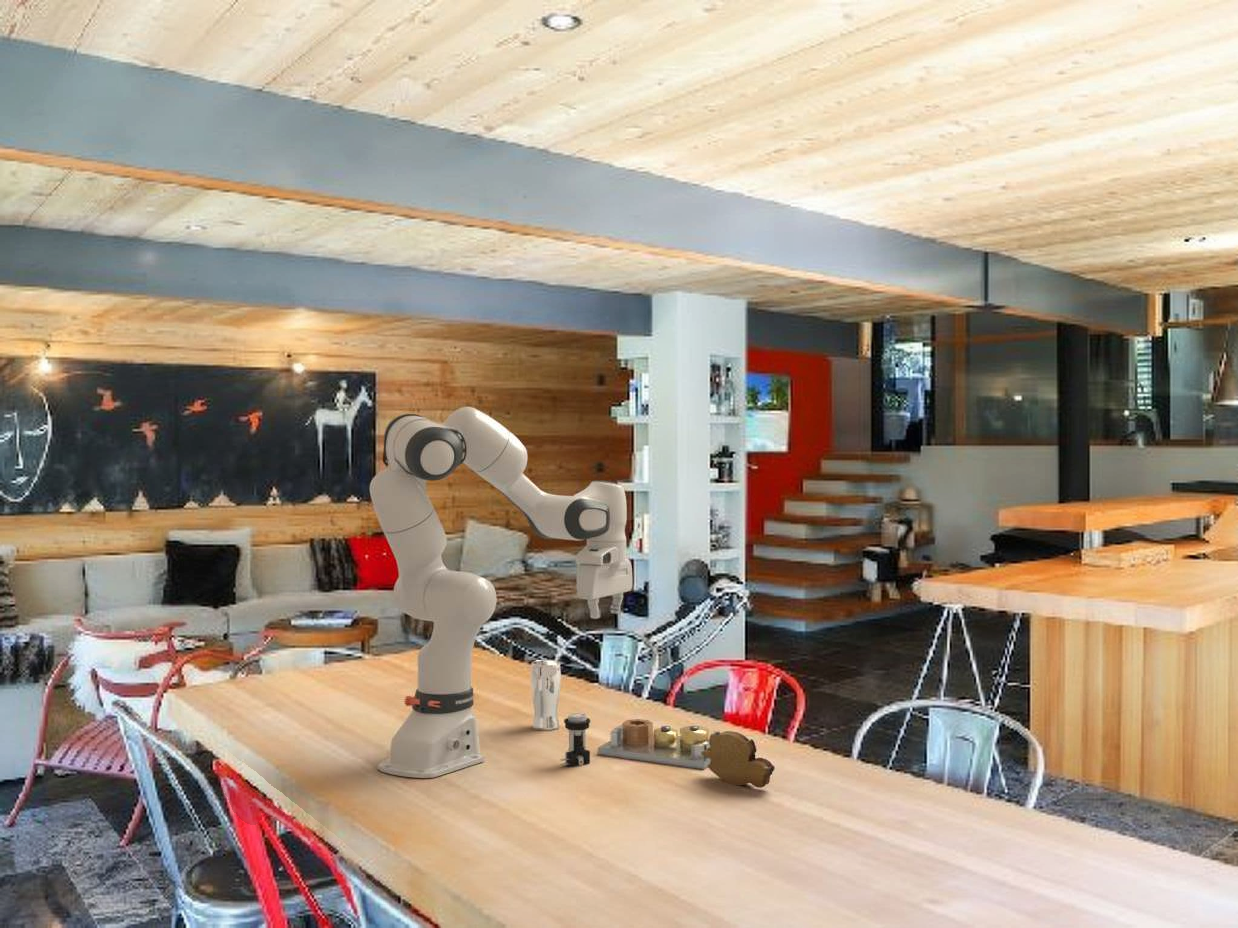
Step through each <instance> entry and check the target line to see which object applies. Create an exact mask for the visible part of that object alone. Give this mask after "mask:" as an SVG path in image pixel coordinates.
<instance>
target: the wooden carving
mask: <svg viewBox="0 0 1238 928" xmlns="http://www.w3.org/2000/svg"><path fill="white" fill-rule="evenodd" d="M709 744H710V748H708V749H706V750H704V751H702V752H701V753H702V755H703V756H704V757H707V758H710V764H709V765H708V767H707V768H708V769H709V770H710V771H711V772H712V773H713V774H714V775H715V776H717V777H718V778H720V779H721V780H722V781H724V782H726V783H727V784H729V785H734V786H745V785H747V784H751V785H752V786H753V787H755V788H759V789H761V788H763V787H766V785H768V784H770V782H771V781H770V779H771V776H772V775H773V772H774V771H775V765H774V764H772V762H771V761H769V760H768V759H767V758H763V757H756V753H757V746H756V743H755V741H754V739H752V738H751V739H749V738H747V736H746V735H744V734H743V733H742V734H741V733H740V732H737V731H732V730H731V731H730V730H728V731H723V732H720V733H719V732H716V733H715V734H714V733H711V734H710V736H709Z"/></svg>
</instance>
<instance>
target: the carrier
mask: <svg viewBox="0 0 1238 928" xmlns="http://www.w3.org/2000/svg"><path fill="white" fill-rule="evenodd" d="M716 732H719V733H721V731H720V730H713V734H715V733H716ZM709 734H710V732H709V728H707V727H704V726H697V725H687V726H683V727H680V728H679V735H678V729H676V728H672V727H671V726H670V725H663V726H660V727H659V728H655V729H653V742H651V743H650V744H648V745H638V746H637V745H629V744H626V743H624V742H623V724H620V725H618V726H616V727H613V729H611V731H610V740H609V741H607V742H605V743H604V744H602V745H600V746H597V755H599V756H606V757H614V758H619V759H620V758H621V759H627V760H634V761H641V762H649V763H656V764H663V765H671V766H676V767H685V768H690V769H697V770H706V769H707V768H708V765H709V764H710V758H707V757H704V756H703V755H702V753H701V752H702V751H704V750H706V749H708V748H710V744H709V738H710V736H709Z"/></svg>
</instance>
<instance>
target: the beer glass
mask: <svg viewBox="0 0 1238 928" xmlns="http://www.w3.org/2000/svg"><path fill="white" fill-rule="evenodd" d="M561 673H562V671H561V662H560V660H556V659H537V660H534V661H532V662H531V667H530V691H531V697H532V702H533V703H532V704H533V710H534V717H533V723H532V728H533V729H534V730H537V731H554V730H557V729H559V728H560V722H559V716H558V707H559V701H560V695H561V694H560V693H561V687H562V678H561V677H562V676H561V675H562V674H561Z"/></svg>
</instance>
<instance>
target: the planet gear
mask: <svg viewBox="0 0 1238 928" xmlns="http://www.w3.org/2000/svg"><path fill="white" fill-rule="evenodd" d="M622 725H623V742H624V743H626V744H629V745H637V746H638V745H648V744H650V743H651V742H653V733H654V723H653V722H652V721H651V720H648V719H641V718H640V719H639V718H633V719H627V720H625V721H623V722H622Z"/></svg>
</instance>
